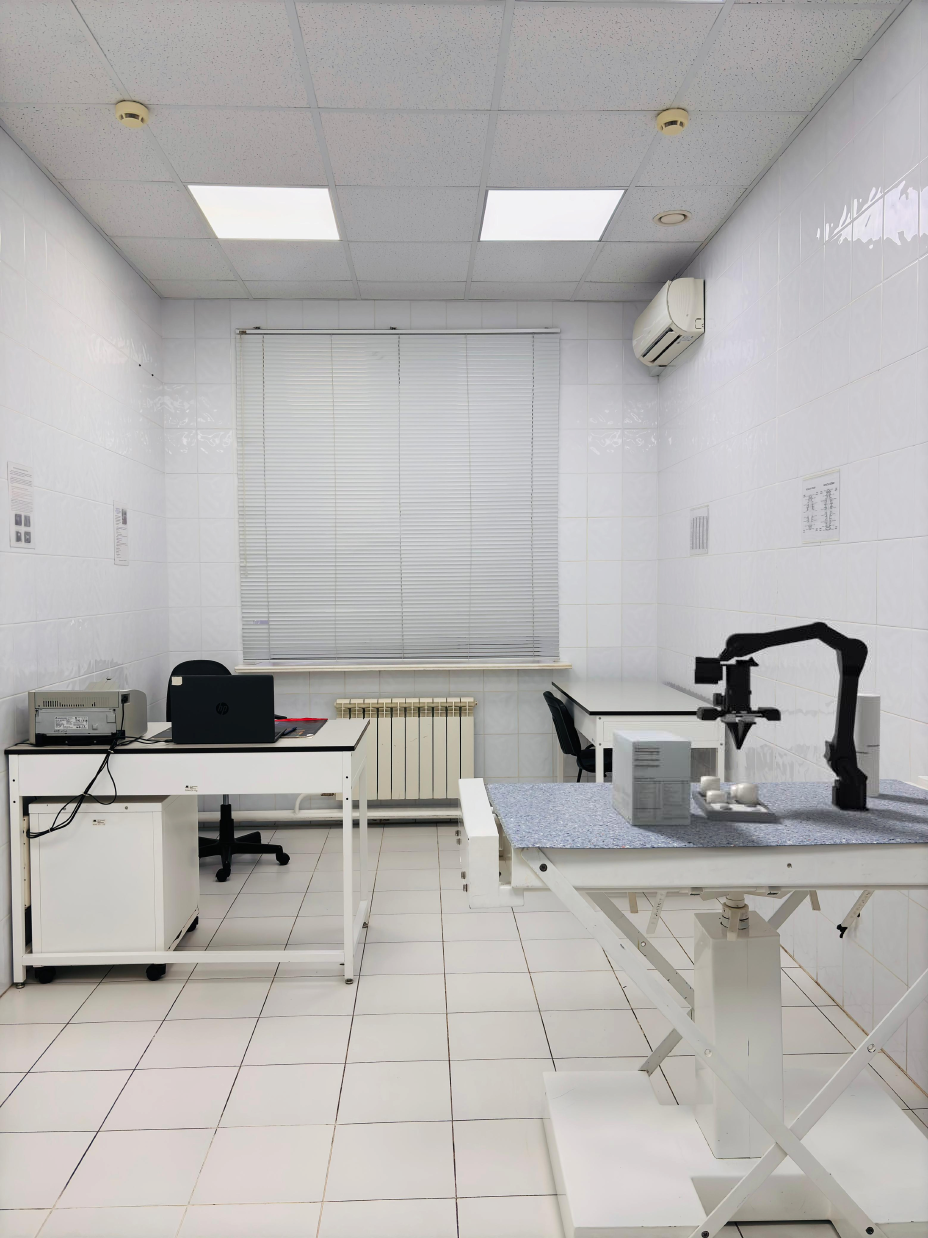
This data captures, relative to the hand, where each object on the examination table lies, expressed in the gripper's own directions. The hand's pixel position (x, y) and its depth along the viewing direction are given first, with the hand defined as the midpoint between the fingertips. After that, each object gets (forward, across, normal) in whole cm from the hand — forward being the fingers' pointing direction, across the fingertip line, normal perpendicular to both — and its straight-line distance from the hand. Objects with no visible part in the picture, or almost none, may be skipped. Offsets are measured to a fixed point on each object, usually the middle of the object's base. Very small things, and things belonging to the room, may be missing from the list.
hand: (738, 749), depth 196 cm
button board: (+12, +4, +10) cm, 16 cm away
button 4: (+10, +1, +11) cm, 15 cm away
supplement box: (+12, +24, +18) cm, 32 cm away
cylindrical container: (+13, -34, -11) cm, 38 cm away
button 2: (+12, +8, +11) cm, 18 cm away
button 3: (+12, +1, +4) cm, 13 cm away
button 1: (+10, +8, +4) cm, 13 cm away
